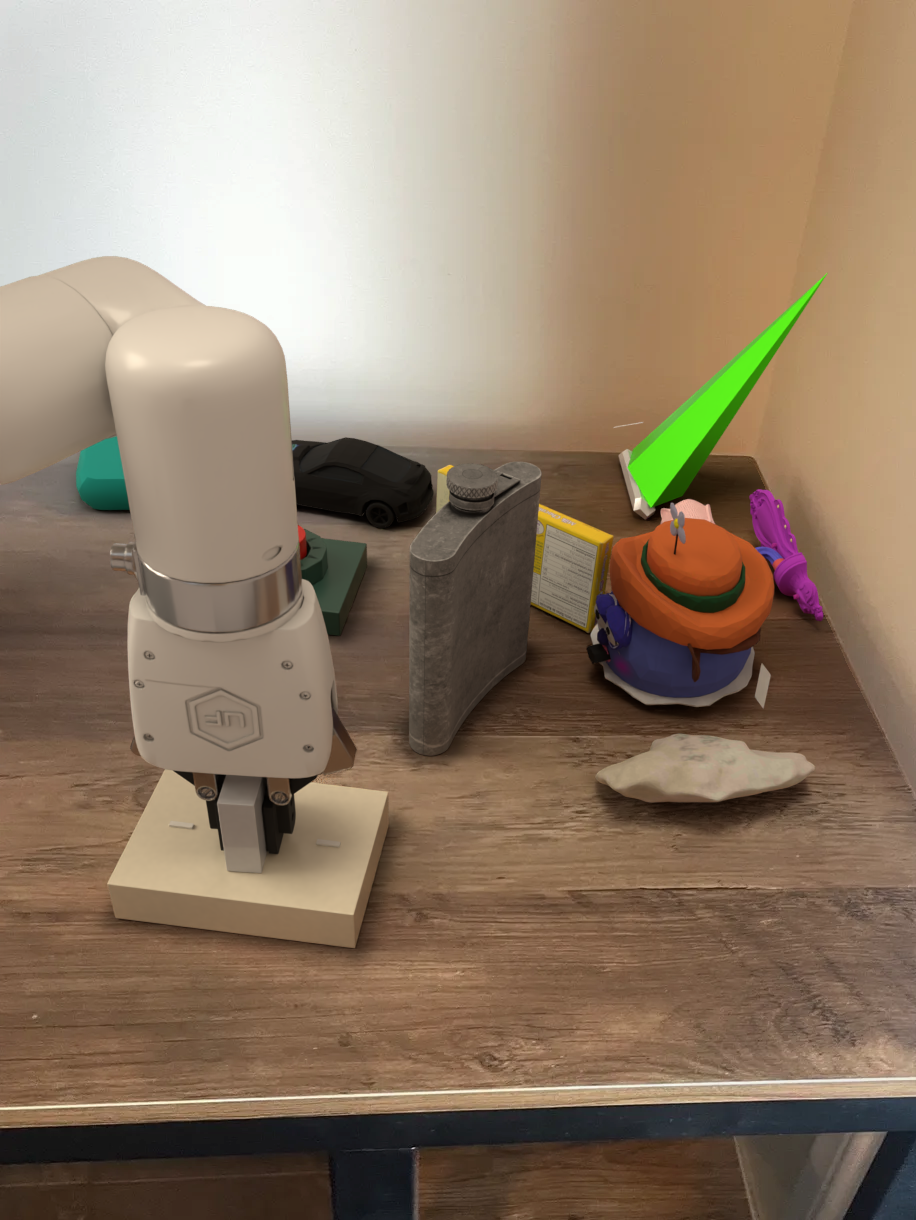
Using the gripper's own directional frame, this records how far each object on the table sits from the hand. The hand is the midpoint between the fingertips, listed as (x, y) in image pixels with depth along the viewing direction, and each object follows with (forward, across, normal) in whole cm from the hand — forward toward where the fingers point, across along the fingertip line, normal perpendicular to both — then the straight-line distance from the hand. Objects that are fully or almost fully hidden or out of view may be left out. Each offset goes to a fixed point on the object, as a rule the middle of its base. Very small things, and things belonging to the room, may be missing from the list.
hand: (255, 833), depth 68 cm
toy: (+3, +26, +24) cm, 36 cm away
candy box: (+3, +14, +32) cm, 35 cm away
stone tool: (+1, +21, +8) cm, 22 cm away
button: (0, -4, +29) cm, 30 cm away
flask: (+3, +11, +18) cm, 22 cm away
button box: (+3, -4, +30) cm, 30 cm away
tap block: (+3, 0, 0) cm, 3 cm away
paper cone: (-17, +40, +52) cm, 67 cm away
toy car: (+3, -2, +45) cm, 45 cm away
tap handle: (0, 0, 0) cm, 0 cm away
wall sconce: (+3, +36, +24) cm, 43 cm away
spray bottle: (+1, -18, +39) cm, 43 cm away
